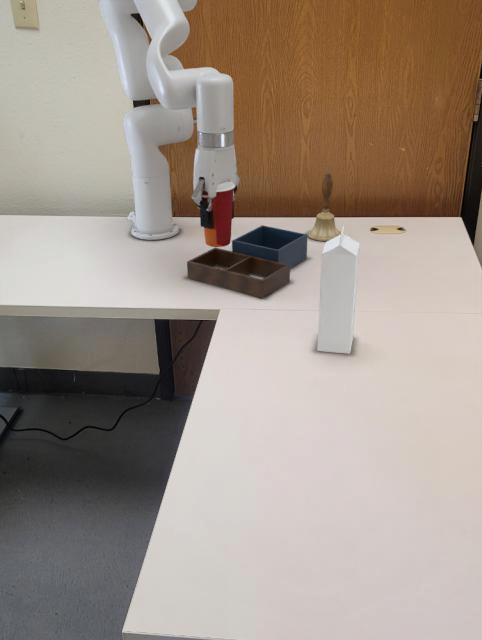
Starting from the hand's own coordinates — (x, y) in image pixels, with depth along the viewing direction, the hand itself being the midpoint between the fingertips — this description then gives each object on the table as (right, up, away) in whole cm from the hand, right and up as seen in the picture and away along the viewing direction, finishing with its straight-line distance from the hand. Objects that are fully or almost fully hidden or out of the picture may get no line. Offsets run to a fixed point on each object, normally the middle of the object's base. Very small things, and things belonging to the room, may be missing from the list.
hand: (217, 221), depth 158 cm
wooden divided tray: (+5, -12, +3) cm, 14 cm away
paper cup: (0, -4, +3) cm, 5 cm away
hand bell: (+27, +2, +27) cm, 38 cm away
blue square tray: (+12, -7, +12) cm, 19 cm away
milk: (+22, -29, -24) cm, 44 cm away
